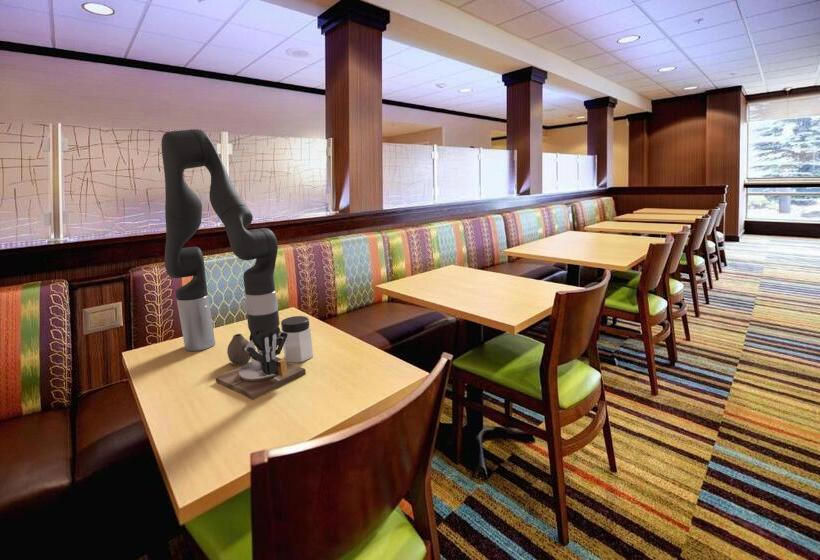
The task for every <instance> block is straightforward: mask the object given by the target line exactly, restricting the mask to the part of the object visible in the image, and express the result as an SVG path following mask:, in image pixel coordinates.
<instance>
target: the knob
mask: <svg viewBox="0 0 820 560" xmlns="http://www.w3.org/2000/svg"><path fill="white" fill-rule="evenodd" d="M274 362H275V370H274V373H272V374H270V375H267V374H265V373H264V372H263V369H262V368H263V367H262V362H259V361H256V360H254V359H253V358H252V357H251V359H250V361H249V362H248V363H246V364H243V365H241V366H240V367H241V368H240V367H239V368H240V369H239V376H240V379H241V380H243V381H247V382H258V381H264V380H267V379H270V378H273V377H275V376H277V375H279V376H281V377H283V376H285V375H287V374H288V371H287V363H288V362H287V361H286V359H285V358H280V357H277V356H275V359H274Z"/></svg>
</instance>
